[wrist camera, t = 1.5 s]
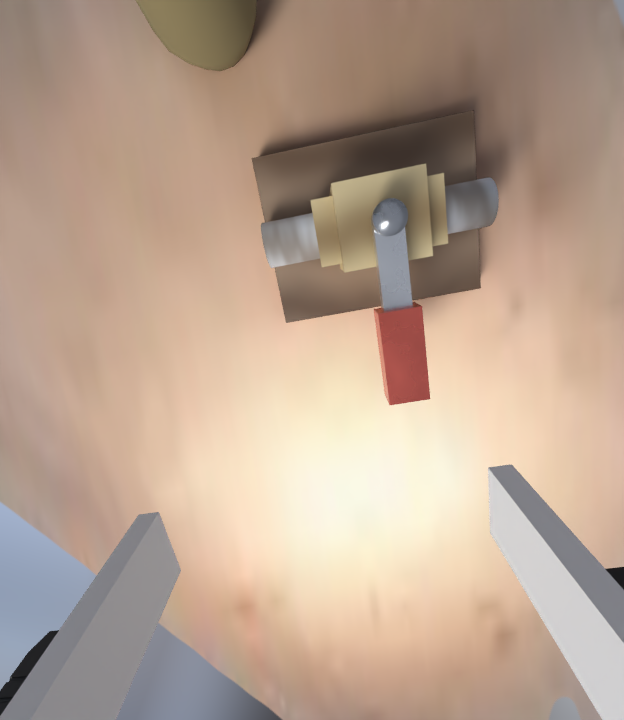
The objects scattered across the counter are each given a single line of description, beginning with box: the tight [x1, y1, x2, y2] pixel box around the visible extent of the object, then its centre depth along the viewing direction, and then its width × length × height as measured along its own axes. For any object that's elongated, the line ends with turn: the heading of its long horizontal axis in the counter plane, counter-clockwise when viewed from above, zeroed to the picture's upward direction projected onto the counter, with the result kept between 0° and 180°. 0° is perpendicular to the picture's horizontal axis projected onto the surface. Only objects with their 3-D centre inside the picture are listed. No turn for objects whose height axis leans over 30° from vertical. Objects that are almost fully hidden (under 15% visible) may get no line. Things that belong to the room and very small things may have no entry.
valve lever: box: [371, 198, 430, 405], centre depth 25 cm, size 14×3×2 cm, turn 10°
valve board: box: [252, 110, 499, 323], centre depth 28 cm, size 14×18×8 cm
